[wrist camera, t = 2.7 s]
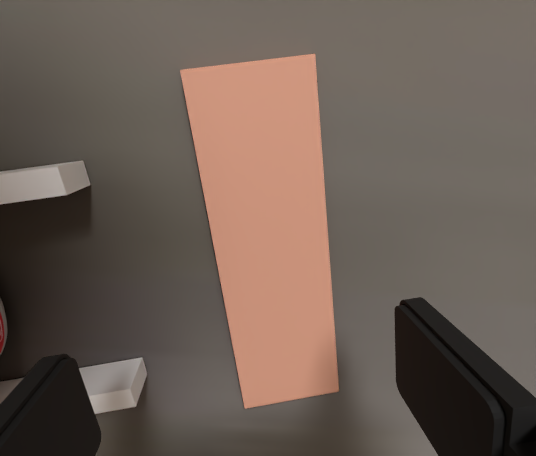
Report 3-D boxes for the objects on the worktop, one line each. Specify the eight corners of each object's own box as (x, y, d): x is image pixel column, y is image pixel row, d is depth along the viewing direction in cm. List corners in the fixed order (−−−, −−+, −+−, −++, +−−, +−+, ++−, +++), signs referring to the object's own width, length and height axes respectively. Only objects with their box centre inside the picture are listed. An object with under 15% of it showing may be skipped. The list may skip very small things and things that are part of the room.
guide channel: (-482, 152, 11) (-631, 158, 9) (311, 56, 13) (325, 44, 11) (-207, 481, 16) (-267, 529, 14) (335, 382, 18) (347, 413, 16)
